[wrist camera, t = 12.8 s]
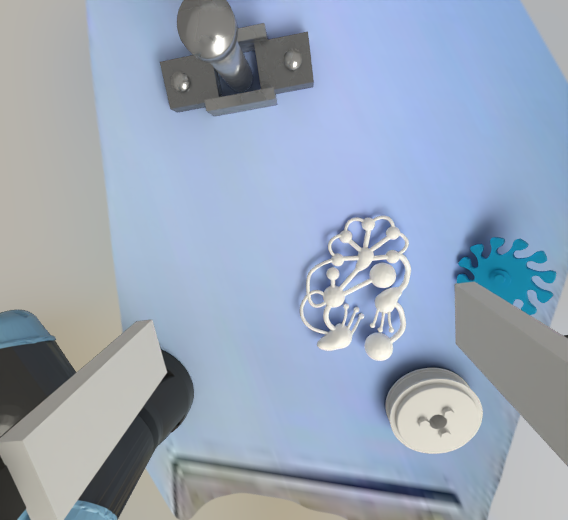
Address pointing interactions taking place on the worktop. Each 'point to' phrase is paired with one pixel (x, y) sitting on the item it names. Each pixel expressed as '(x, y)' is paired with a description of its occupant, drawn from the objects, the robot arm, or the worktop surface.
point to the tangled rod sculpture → (380, 276)
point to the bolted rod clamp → (271, 66)
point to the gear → (508, 273)
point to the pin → (215, 39)
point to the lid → (433, 410)
